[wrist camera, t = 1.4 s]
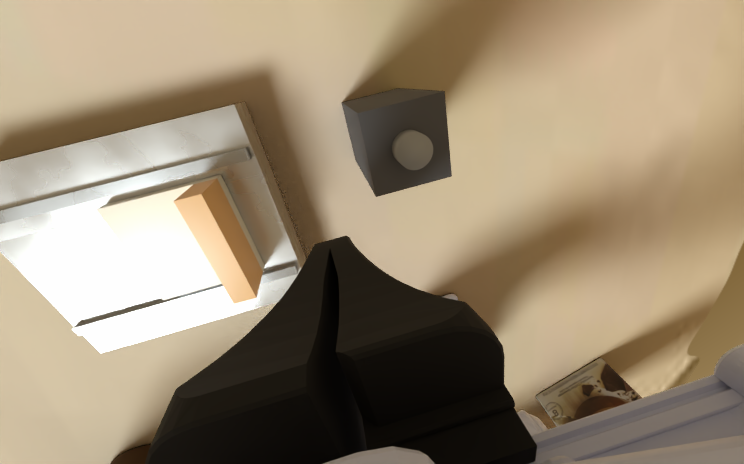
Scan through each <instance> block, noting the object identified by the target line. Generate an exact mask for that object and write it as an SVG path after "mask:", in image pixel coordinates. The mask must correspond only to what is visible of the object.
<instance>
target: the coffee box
mask: <svg viewBox="0 0 744 464" xmlns="http://www.w3.org/2000/svg"><path fill="white" fill-rule="evenodd" d="M536 398H537V399H538V401H539V402H540V404H541V405H542V406H543V408H544V409H545V411H546V412H547V413H548V415H549V416H550V417H551V419H552V420H553V422H554V423H555V425H556V426H560V425H563V424H566V423H569V422H572V421H575V420H578V419H581V418H584V417H587V416H590V415H593V414H596V413H599V412H602V411H605V410H608V409H611V408H614V407H617V406H620V405H623V404H626V403H629V402H632V401H635V400H638V399H641V398H642V397H641V396H640V395H639V394H638V393H637V392H635V391H634V390H633V389H632V388H631V387H630V386H629V385H628V384H627V383H626V382H625V381H624V380H623V379H622V378H621V377H620V376H619V375H618V374H617V373H616V372H615V371H614V370H613V369H612V368H611V367H610V366H609V365H608V364H607V363H606V362H605V361H604V360H603V359H602V358H599V359H597V360H595V361H594V362H592V363H590V364H589V365H587V366H585V367H584V368H582V369H580V370H578V371H577V372H575V373H573V374H572V375H570V376H568V377H567V378H565V379H563V380H562V381H560V382H558V383H557V384H555V385H553V386H552V387H550V388H548V389H546V390H545V391H543V392H541V393H540V394H538V395H537V396H536Z"/></svg>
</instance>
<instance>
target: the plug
mask: <svg viewBox="0 0 744 464" xmlns="http://www.w3.org/2000/svg"><path fill="white" fill-rule="evenodd" d="M342 106H343V110H344V114H345V119H346V123H347V127H348V131H349V135H350V139H351V143H352V147H353V151H354V156H355V160H356V162H357V163H358V165H359V167H360V169H361V171H362V172H363V174H364V176H365V178H366V179H367V181H368V183H369V185H370V187H371V188H372V190H373V192H374V194H375V196H376V197H377V196H381V195H385V194H388V193H392V192H396V191H399V190H403V189H407V188H410V187H414V186H418V185H421V184H425V183H429V182H432V181H436V180H440V179H443V178H447V177H451V176H452V175H451V163H450V151H449V139H448V127H447V115H446V103H445V91H432V90H416V89H400V88H398V89H394V90H390V91H386V92H382V93H378V94H374V95H370V96H366V97H362V98H358V99H354V100H350V101H346V102H342Z"/></svg>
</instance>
